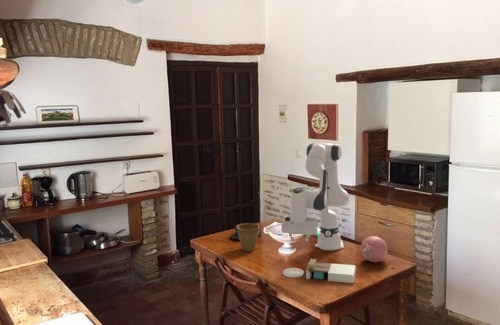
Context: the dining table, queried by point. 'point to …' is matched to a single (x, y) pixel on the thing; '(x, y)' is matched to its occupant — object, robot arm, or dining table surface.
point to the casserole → (237, 232)
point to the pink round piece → (374, 249)
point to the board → (338, 273)
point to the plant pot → (248, 236)
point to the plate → (293, 272)
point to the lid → (318, 266)
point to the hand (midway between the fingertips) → (299, 241)
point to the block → (318, 274)
